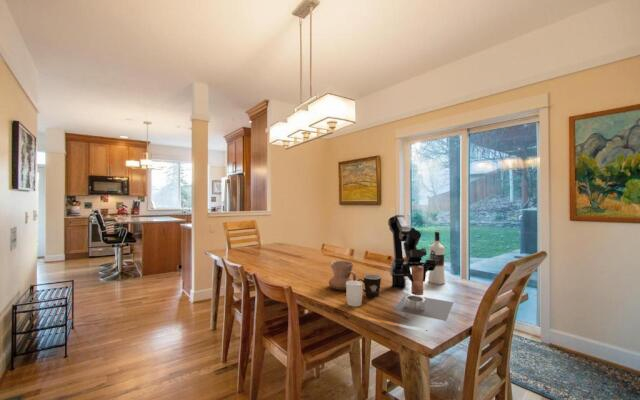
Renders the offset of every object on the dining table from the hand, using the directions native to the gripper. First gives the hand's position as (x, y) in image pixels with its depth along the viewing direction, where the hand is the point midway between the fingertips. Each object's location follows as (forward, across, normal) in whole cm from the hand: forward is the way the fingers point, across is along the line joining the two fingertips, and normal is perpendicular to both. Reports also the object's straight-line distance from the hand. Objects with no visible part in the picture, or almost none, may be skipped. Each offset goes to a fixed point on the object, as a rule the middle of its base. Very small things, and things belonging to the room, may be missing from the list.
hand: (418, 281), depth 130 cm
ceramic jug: (-12, -32, +31) cm, 46 cm away
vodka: (-22, +25, +41) cm, 52 cm away
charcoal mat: (+7, +4, +12) cm, 14 cm away
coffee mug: (-4, -19, +22) cm, 29 cm away
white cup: (+4, -28, +14) cm, 31 cm away
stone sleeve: (+8, -1, +9) cm, 12 cm away
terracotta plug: (+3, 0, +5) cm, 6 cm away
